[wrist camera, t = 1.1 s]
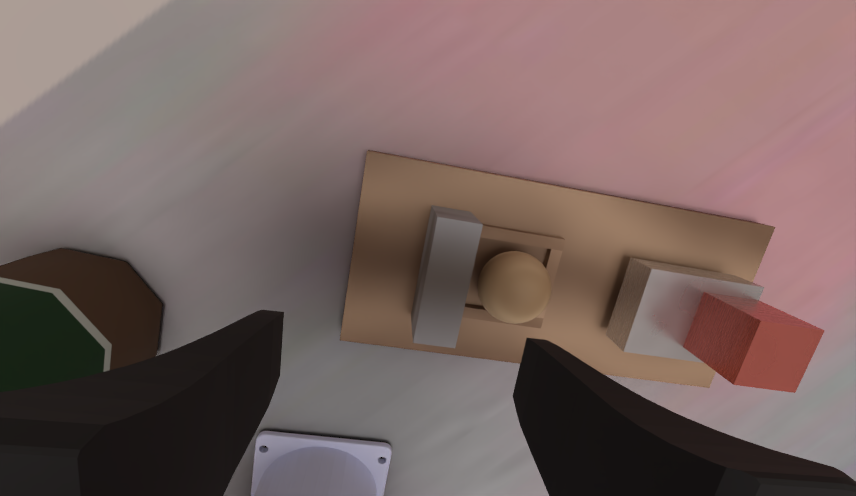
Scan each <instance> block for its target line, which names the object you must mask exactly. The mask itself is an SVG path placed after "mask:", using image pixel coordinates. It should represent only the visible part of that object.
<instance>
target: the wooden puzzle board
mask: <svg viewBox="0 0 856 496" xmlns="http://www.w3.org/2000/svg"><path fill="white" fill-rule="evenodd" d="M774 229H775V227H773V226H768V225H764V224H760V223H756V222H751V221H745V220H740V219H735V218H729V217H724V216H719V215H713V214H708V213H702V212H697V211H692V210H686V209H681V208H676V207H670V206H665V205H660V204H654V203H649V202H644V201H638V200H633V199H627V198H622V197H617V196H611V195H606V194H601V193H595V192H590V191H585V190H579V189H574V188H569V187H563V186H558V185H552V184H547V183H542V182H536V181H531V180H526V179H520V178H515V177H510V176H504V175H499V174H494V173H488V172H483V171H477V170H472V169H467V168H461V167H456V166H451V165H445V164H440V163H435V162H429V161H424V160H419V159H413V158H408V157H402V156H397V155H392V154H386V153H381V152H376V151H370V150H368V151H367V155H366V162H365V169H364V176H363V183H362V190H361V197H360V204H359V211H358V217H357V224H356V231H355V238H354V245H353V252H352V259H351V266H350V273H349V280H348V287H347V294H346V301H345V308H344V314H343V321H342V328H341V335H340V340H342V341H350V342H358V343H365V344H373V345H381V346H389V347H396V348H404V349H412V350H420V351H427V352H435V353H443V354H451V355H458V356H466V357H474V358H482V359H489V360H497V361H505V362H513V363H520V364H521V360H522V355H523V351H524V347H525V343H526V339H527V338H535V339H544V340H548V341H550V342H552V343H554V344H556V345H558V346H559V347H561V348H563V349H564V350H566V351H567V352H569V353H571V354H572V355H574V356H575V357H577V358H578V359H580V360H582V361H583V362H585V363H586V364H588V365H589V366H591V367H592V368H594V369H596V370H597V371H599V372H600V373H602V374H606V375H613V376H621V377H629V378H637V379H644V380H652V381H660V382H668V383H675V384H683V385H691V386H699V387H706V388H709V387H710V384H711V382H712V379H713V377H714V375H715V372H716V371H715V370H713V369H712V368H711V367H709V366H708V365H707V364H705V363H702V362H694V361H687V360H680V359H672V358H665V357H658V356H650V355H643V354H636V353H629V352H623V351H622V350H621V349H620V348H619V347H618V346H617V345H616V344H615V343H614V342H613V341H612V340H611V339H610V338H608V337H607V336H606V332H607V329H608V326H609V323H610V319H611V316H612V313H613V310H614V307H615V304H616V301H617V298H618V295H619V292H620V289H621V286H622V283H623V280H624V277H625V273H626V270H627V267H628V264H629V261H630V258H636V259H641V260H647V261H653V262H659V263H665V264H671V265H677V266H683V267H689V268H695V269H701V270H707V271H713V272H719V273H725V274H731V275H736V276H738V277H740V278H743V279H745V280H748V281H750V282H753V280H754V277H755V275H756V273H757V270H758V268H759V265H760V263H761V260H762V258H763V256H764V253H765V251H766V248H767V246H768V243H769V241H770V239H771V236H772V234H773V231H774ZM509 251H520V252H524V253H527V254H530V255H531V256H533V257H535V258H536V259H538V260H539V261H540V262H541V263H542V264H543V265H544V267H545V268H546V270H547V272H548V274H549V276H550V280H551V288H552V289H551V296H550V300H549V302H548V304H547V306H546V308H545V309H544V311H543V312H542V313H541V314H540V315H539V316H537V317H536V318H534V319H532V320H530V321H528V322H525V323H518V324H513V323H506V322H503V321H500V320H498V319H496V318H495V317H493V316H492V315H491V314H490V313H489V312H488V311H487V310H486V309H485V308H484V306H483V305H482V303H481V300H480V298H479V294H478V279H479V276H480V273H481V271H482V269H483V267H484V266H485V265H486V263H487V262H488V261H489V260H490V259H492V258H493V257H495V256H496V255H498V254H501V253H504V252H509Z"/></svg>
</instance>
